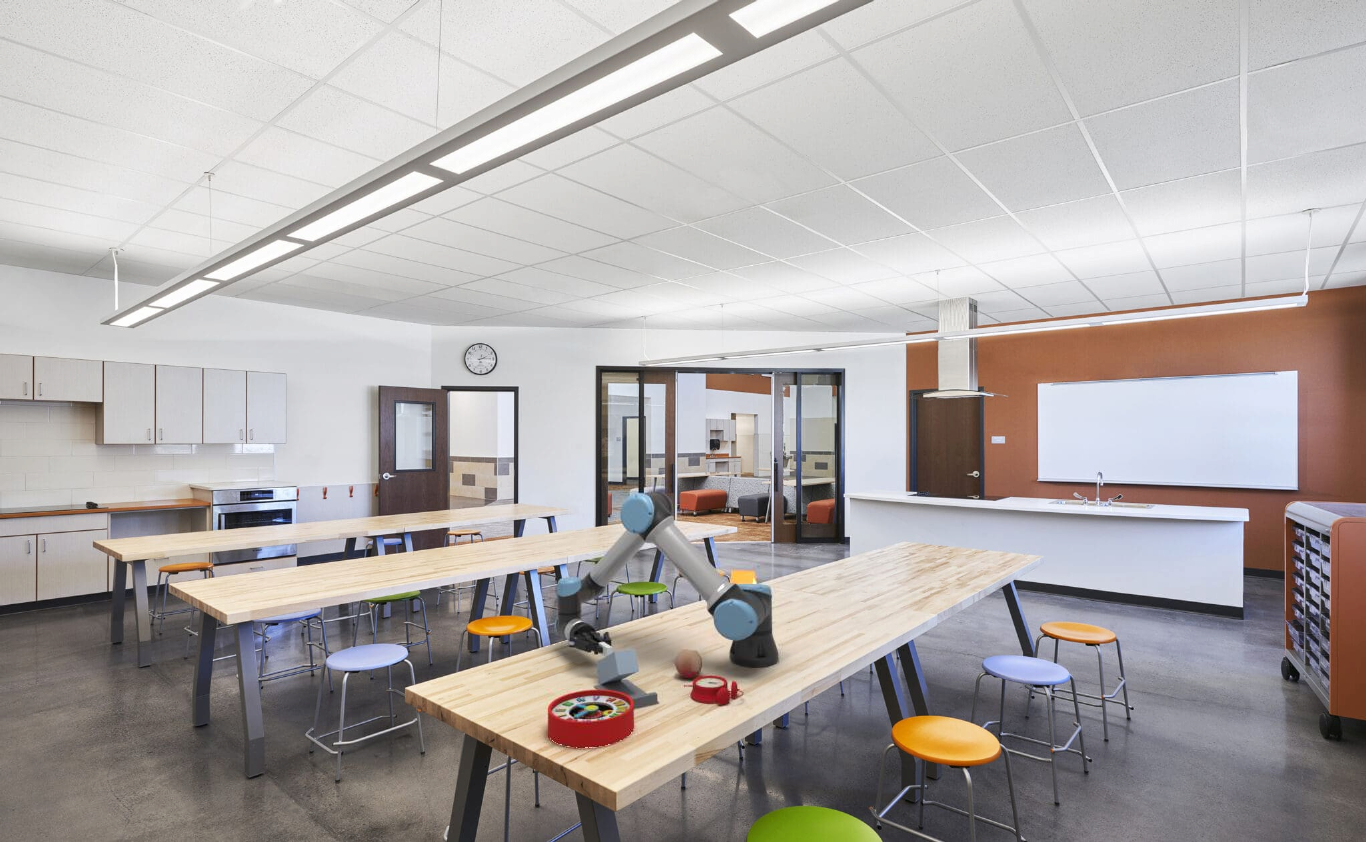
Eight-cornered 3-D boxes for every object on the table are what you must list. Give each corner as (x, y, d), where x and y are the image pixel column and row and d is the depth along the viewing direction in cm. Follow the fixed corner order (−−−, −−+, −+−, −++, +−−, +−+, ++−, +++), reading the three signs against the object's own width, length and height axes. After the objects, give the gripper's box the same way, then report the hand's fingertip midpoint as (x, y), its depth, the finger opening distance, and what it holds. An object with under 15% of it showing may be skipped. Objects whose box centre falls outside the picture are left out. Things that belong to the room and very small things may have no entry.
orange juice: (753, 628, 238) (751, 573, 239) (729, 627, 241) (728, 572, 242) (758, 623, 246) (757, 569, 246) (735, 621, 249) (734, 568, 250)
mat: (593, 686, 182) (593, 677, 182) (626, 680, 186) (626, 671, 187) (623, 711, 164) (623, 701, 164) (659, 703, 169) (659, 693, 169)
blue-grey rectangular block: (595, 662, 186) (614, 651, 174) (615, 659, 189) (634, 648, 177) (599, 685, 183) (618, 675, 172) (619, 681, 186) (639, 671, 175)
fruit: (705, 673, 191) (705, 645, 192) (698, 683, 184) (698, 653, 184) (679, 671, 193) (678, 643, 194) (671, 680, 186) (670, 652, 186)
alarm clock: (699, 673, 181) (746, 669, 174) (704, 696, 180) (751, 693, 173) (679, 684, 173) (728, 681, 165) (683, 709, 172) (733, 707, 164)
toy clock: (650, 699, 157) (597, 729, 140) (650, 723, 157) (597, 757, 140) (586, 684, 168) (529, 711, 151) (586, 707, 168) (529, 737, 151)
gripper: (600, 642, 208) (631, 662, 187) (560, 649, 202) (588, 670, 181) (599, 618, 208) (630, 635, 188) (559, 625, 202) (587, 642, 181)
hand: (609, 652), depth 184 cm, fingers closed
